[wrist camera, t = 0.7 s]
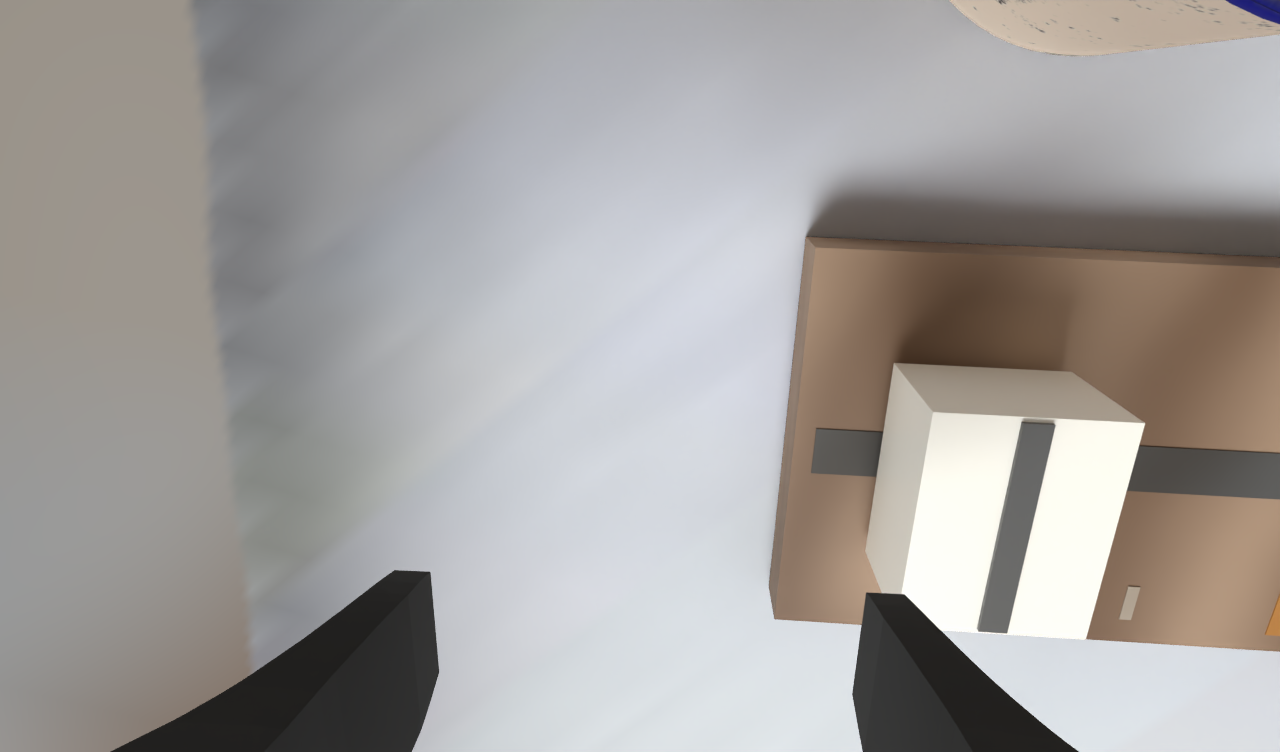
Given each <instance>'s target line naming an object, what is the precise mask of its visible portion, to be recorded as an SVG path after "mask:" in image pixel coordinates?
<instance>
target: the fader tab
mask: <svg viewBox="0 0 1280 752" xmlns="http://www.w3.org/2000/svg"><path fill="white" fill-rule="evenodd" d="M1144 426H1145V423H1144V422H1143V421H1141V420H1140V419H1138V418H1137V417H1136V416H1134V415H1133V414H1131V413H1130V412H1128V411H1127V410H1126V409H1124V408H1123V407H1121V406H1120V405H1118V404H1117V403H1116V402H1114V401H1113V400H1111V399H1110V398H1108V397H1107V396H1106V395H1104V394H1103V393H1101V392H1100V391H1098V390H1097V389H1096V388H1094V387H1093V386H1091V385H1090V384H1088V383H1087V382H1086V381H1084V380H1083V379H1081V378H1080V377H1078V376H1077V375H1076V374H1074V373H1073V372H1066V371H1046V370H1026V369H1006V368H986V367H966V366H946V365H926V364H905V363H894V365H893V372H892V378H891V385H890V392H889V398H888V405H887V411H886V418H885V424H884V431H883V438H882V444H881V451H880V457H879V464H878V470H877V477H876V484H875V490H874V497H873V503H872V510H871V516H870V523H869V530H868V536H867V543H866V549H865V552H866V554H867V557H868V559H869V562H870V564H871V567H872V569H873V572H874V575H875V577H876V580H877V582H878V585H879V587H880V590H881V592H882V593H890V594H905V595H906V596H907V597H908V598H909V599H910V600H911V601H912V602H913V603H914V604H915V605H916V606H917V607H918V608H919V609H920V610H921V611H922V612H923V613H924V614H925V615H926V616H927V617H928V618H929V619H930V620H931V621H932V622H933V623H934V624H935V625H936V626H937V627H938V628H939V629H940V630H943V631H959V632H974V633H990V634H1006V635H1021V636H1037V637H1052V638H1068V639H1083V640H1086V637H1087V633H1088V630H1089V626H1090V622H1091V619H1092V615H1093V611H1094V608H1095V604H1096V601H1097V597H1098V593H1099V590H1100V586H1101V582H1102V579H1103V575H1104V571H1105V568H1106V564H1107V561H1108V557H1109V553H1110V550H1111V546H1112V542H1113V539H1114V535H1115V531H1116V528H1117V524H1118V521H1119V517H1120V513H1121V510H1122V506H1123V502H1124V499H1125V495H1126V491H1127V488H1128V484H1129V481H1130V477H1131V473H1132V470H1133V466H1134V462H1135V459H1136V455H1137V451H1138V448H1139V444H1140V441H1141V437H1142V433H1143V430H1144Z"/></svg>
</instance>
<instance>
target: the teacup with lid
mask: <svg viewBox="0 0 1280 752" xmlns="http://www.w3.org/2000/svg"><path fill="white" fill-rule="evenodd" d="M949 1H950V2H951V3H952V4H953V5H954V6H955V7H956V8H957V9H958V10H959V11H960V12H961V13H962V14H963V15H965V16H966V17H967V18H968V19H970V20H971V21H972V22H974V23H975V24H976V25H977V26H979V27H980V28H982V29H984V30H985V31H987V32H989V33H990V34H992V35H994V36H995V37H998V38H1000V39H1002V40H1004V41H1006V42H1009V43H1011V44H1013V45H1016V46H1019V47H1022V48H1026V49H1029V50H1032V51H1037V52H1042V53H1047V54H1052V55H1063V56H1097V55H1105V54H1114V53H1123V52H1132V51H1140V50H1149V49H1158V48H1166V47H1175V46H1184V45H1192V44H1201V43H1209V42H1218V41H1227V40H1235V39H1244V38H1253V37H1261V36H1270V35H1279V34H1280V0H949Z"/></svg>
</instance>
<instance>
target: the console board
mask: <svg viewBox="0 0 1280 752" xmlns="http://www.w3.org/2000/svg"><path fill="white" fill-rule="evenodd" d="M894 363H905V364H926V365H946V366H966V367H986V368H1006V369H1026V370H1046V371H1066V372H1073V373H1074V374H1076V375H1077V376H1078V377H1080V378H1081V379H1083V380H1084V381H1086V382H1087V383H1088V384H1090V385H1091V386H1093V387H1094V388H1096V389H1097V390H1098V391H1100V392H1101V393H1103V394H1104V395H1106V396H1107V397H1108V398H1110V399H1111V400H1113V401H1114V402H1116V403H1117V404H1118V405H1120V406H1121V407H1123V408H1124V409H1126V410H1127V411H1128V412H1130V413H1131V414H1133V415H1134V416H1136V417H1137V418H1138V419H1140V420H1141V421H1143V422H1144V423H1145V426H1144V430H1143V433H1142V437H1141V441H1140V444H1139V448H1138V451H1137V455H1136V459H1135V462H1134V466H1133V470H1132V473H1131V477H1130V481H1129V484H1128V488H1127V491H1126V495H1125V499H1124V502H1123V506H1122V510H1121V513H1120V517H1119V521H1118V524H1117V528H1116V531H1115V535H1114V539H1113V542H1112V546H1111V550H1110V553H1109V557H1108V561H1107V564H1106V568H1105V571H1104V575H1103V579H1102V582H1101V586H1100V590H1099V593H1098V597H1097V601H1096V604H1095V608H1094V611H1093V615H1092V619H1091V622H1090V626H1089V630H1088V633H1087V637H1086V639H1092V640H1107V641H1123V642H1138V643H1154V644H1170V645H1185V646H1201V647H1216V648H1232V649H1247V650H1263V651H1279V652H1280V257H1265V256H1241V255H1218V254H1195V253H1172V252H1149V251H1126V250H1103V249H1079V248H1056V247H1033V246H1010V245H987V244H964V243H940V242H917V241H894V240H871V239H848V238H825V237H806V239H805V249H804V258H803V268H802V277H801V287H800V296H799V306H798V315H797V325H796V334H795V344H794V353H793V362H792V372H791V381H790V391H789V400H788V410H787V419H786V429H785V438H784V448H783V457H782V467H781V476H780V485H779V495H778V504H777V514H776V523H775V533H774V542H773V552H772V561H771V571H770V580H769V590H770V596H771V602H772V608H773V614H774V619H780V620H795V621H811V622H827V623H842V624H858V625H862V619H863V612H864V604H865V597H866V592H868V593H882V592H881V590H880V587H879V585H878V582H877V580H876V577H875V575H874V572H873V569H872V567H871V564H870V562H869V559H868V557H867V554H866V552H865V549H866V543H867V536H868V530H869V523H870V516H871V510H872V503H873V497H874V490H875V484H876V477H877V470H878V464H879V457H880V451H881V444H882V438H883V431H884V424H885V418H886V411H887V405H888V398H889V392H890V385H891V378H892V372H893V365H894Z"/></svg>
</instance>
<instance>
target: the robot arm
mask: <svg viewBox="0 0 1280 752" xmlns="http://www.w3.org/2000/svg"><path fill="white" fill-rule="evenodd" d="M438 674H439V666H438V655H437V643H436V632H435V620H434V609H433V597H432V586H431V574H430V572H420V571H398V570H394V571H393V572H392V573H390V574H389V575H387V576H386V577H384V578H383V579H382V580H380V581H379V582H378V583H376V584H375V585H374V586H372V587H371V588H370V589H369V590H367V591H366V592H365V593H363V594H362V595H361V596H359V597H358V598H357V599H356V600H354V601H353V602H352V603H350V604H349V605H348V606H346V607H345V608H344V609H343V610H341V611H340V612H339V613H337V614H336V615H335V616H333V617H332V618H331V619H329V620H328V621H327V622H325V623H324V624H323V625H321V626H320V627H319V628H317V629H316V630H315V631H313V632H312V633H311V634H309V635H308V636H307V637H305V638H304V639H302V640H301V641H300V642H298V643H297V644H295V645H294V646H292V647H291V648H289V649H288V650H286V651H285V652H284V653H282V654H281V655H279V656H278V657H276V658H275V659H273V660H272V661H270V662H269V663H267V664H266V665H265V666H263V667H262V668H260V669H259V670H257V671H256V672H254V673H253V674H251V675H250V676H248V677H247V678H245V679H244V680H242V681H241V682H239V683H237V684H236V685H234V686H233V687H231V688H229V689H227V690H226V691H224V692H223V693H221V694H219V695H218V696H216V697H214V698H212V699H211V700H209V701H207V702H205V703H204V704H202V705H200V706H198V707H197V708H195V709H193V710H192V711H190V712H188V713H186V714H184V715H182V716H181V717H179V718H177V719H175V720H173V721H171V722H169V723H167V724H165V725H163V726H161V727H159V728H157V729H155V730H153V731H151V732H149V733H147V734H145V735H143V736H141V737H139V738H137V739H135V740H133V741H131V742H129V743H127V744H125V745H123V746H121V747H119V748H117V749H115V750H113V751H111V752H412V750H413V747H414V745H415V743H416V741H417V738H418V736H419V734H420V731H421V729H422V726H423V723H424V720H425V717H426V714H427V710H428V707H429V704H430V701H431V698H432V694H433V691H434V687H435V684H436V681H437V677H438ZM852 695H853V700H854V706H855V712H856V717H857V723H858V729H859V734H860V739H861V744H862V749H863V752H1078V751H1077V750H1076V749H1074V748H1073V747H1072V746H1070V745H1069V744H1068V743H1066V742H1065V741H1064V740H1062V739H1061V738H1060V737H1059V736H1057V735H1056V734H1055V733H1053V732H1052V731H1051V730H1050V729H1048V728H1047V727H1046V726H1045V725H1043V724H1042V723H1041V722H1040V721H1039V720H1037V719H1036V718H1035V717H1034V716H1033V715H1032V714H1030V713H1029V712H1028V711H1027V710H1026V709H1025V708H1023V707H1022V706H1021V705H1020V704H1019V703H1017V702H1016V701H1015V700H1014V699H1013V698H1012V697H1010V696H1009V695H1008V694H1007V693H1006V692H1005V691H1004V690H1003V689H1001V688H1000V687H999V686H998V685H997V684H996V683H995V682H994V681H993V680H992V679H990V678H989V677H988V676H987V675H986V674H985V673H984V672H983V671H982V670H981V669H980V668H979V667H978V666H977V665H975V664H974V663H973V662H972V661H971V660H970V659H969V658H968V657H967V656H966V655H965V654H964V653H963V652H962V651H961V650H960V649H959V648H958V647H957V646H956V645H955V644H954V643H953V642H952V641H951V640H950V639H949V638H948V637H947V636H946V635H945V634H944V633H943V632H942V631H941V630H940V629H939V628H938V627H937V626H936V625H935V624H934V623H933V622H932V621H931V620H930V619H929V618H928V617H927V616H926V615H925V614H924V613H923V612H922V611H921V610H920V609H919V608H918V607H917V606H916V605H915V604H914V603H913V602H912V601H911V600H910V599H909V598H908V597H907V596H906V595H905V594H890V593H868V592H866V597H865V604H864V612H863V619H862V627H861V634H860V641H859V649H858V656H857V664H856V671H855V679H854V686H853V693H852Z"/></svg>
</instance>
